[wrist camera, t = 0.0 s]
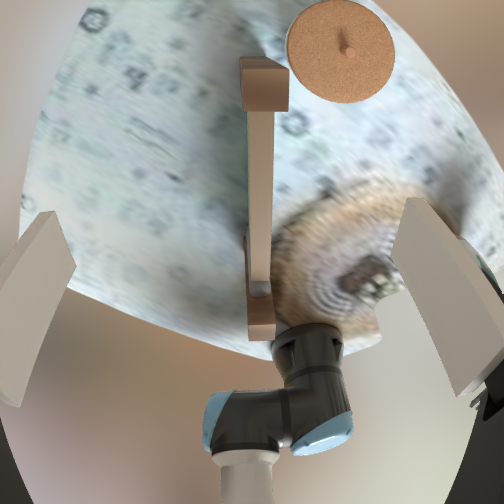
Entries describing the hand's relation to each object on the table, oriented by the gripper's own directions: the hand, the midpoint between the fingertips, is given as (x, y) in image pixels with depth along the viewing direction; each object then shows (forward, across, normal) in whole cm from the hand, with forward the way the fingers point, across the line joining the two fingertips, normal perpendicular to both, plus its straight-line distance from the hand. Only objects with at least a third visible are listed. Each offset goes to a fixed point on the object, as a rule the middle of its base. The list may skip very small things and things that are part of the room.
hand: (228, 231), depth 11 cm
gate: (+28, -2, +10) cm, 29 cm away
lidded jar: (+28, -10, -6) cm, 31 cm away
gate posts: (+28, -2, +10) cm, 30 cm away
